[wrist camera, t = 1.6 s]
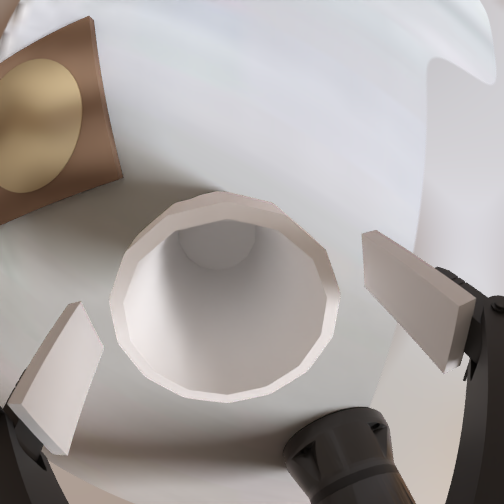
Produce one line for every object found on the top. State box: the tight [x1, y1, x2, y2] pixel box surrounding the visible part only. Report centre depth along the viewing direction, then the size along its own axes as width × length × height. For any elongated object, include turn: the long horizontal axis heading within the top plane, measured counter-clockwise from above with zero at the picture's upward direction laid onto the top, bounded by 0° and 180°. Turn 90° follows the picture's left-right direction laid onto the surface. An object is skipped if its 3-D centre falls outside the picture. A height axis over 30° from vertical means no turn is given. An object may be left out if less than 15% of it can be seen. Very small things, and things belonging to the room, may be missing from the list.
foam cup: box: [109, 191, 341, 403], centre depth 18 cm, size 10×9×13 cm
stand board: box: [0, 16, 123, 225], centre depth 18 cm, size 14×14×2 cm
